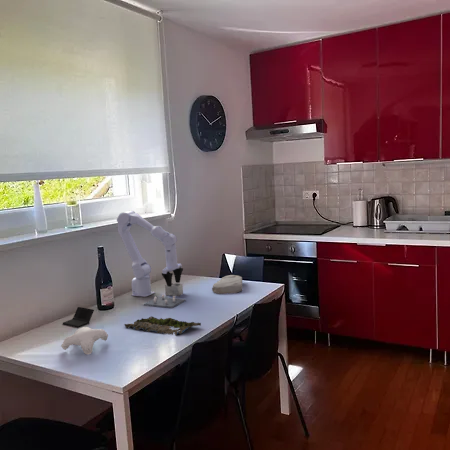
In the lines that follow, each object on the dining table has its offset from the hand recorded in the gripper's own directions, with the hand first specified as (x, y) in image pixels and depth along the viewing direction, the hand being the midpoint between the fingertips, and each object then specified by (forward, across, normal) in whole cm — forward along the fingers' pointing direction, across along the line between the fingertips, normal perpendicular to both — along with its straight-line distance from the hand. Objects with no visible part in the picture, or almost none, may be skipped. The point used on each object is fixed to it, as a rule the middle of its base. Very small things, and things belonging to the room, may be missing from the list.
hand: (173, 284), depth 239 cm
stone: (+6, +18, -24) cm, 30 cm away
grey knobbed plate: (+5, -14, -4) cm, 15 cm away
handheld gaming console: (+6, -49, +17) cm, 52 cm away
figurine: (+6, -70, -8) cm, 71 cm away
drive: (+6, 0, 0) cm, 6 cm away
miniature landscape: (+6, -43, -23) cm, 49 cm away
